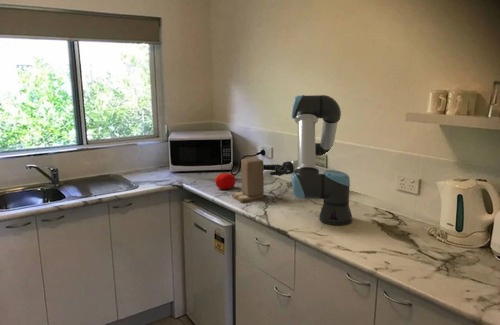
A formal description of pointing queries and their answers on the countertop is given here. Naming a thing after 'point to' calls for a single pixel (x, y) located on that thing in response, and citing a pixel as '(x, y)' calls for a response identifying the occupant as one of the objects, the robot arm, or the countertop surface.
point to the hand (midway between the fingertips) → (258, 171)
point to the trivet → (243, 198)
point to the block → (252, 177)
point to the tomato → (225, 181)
